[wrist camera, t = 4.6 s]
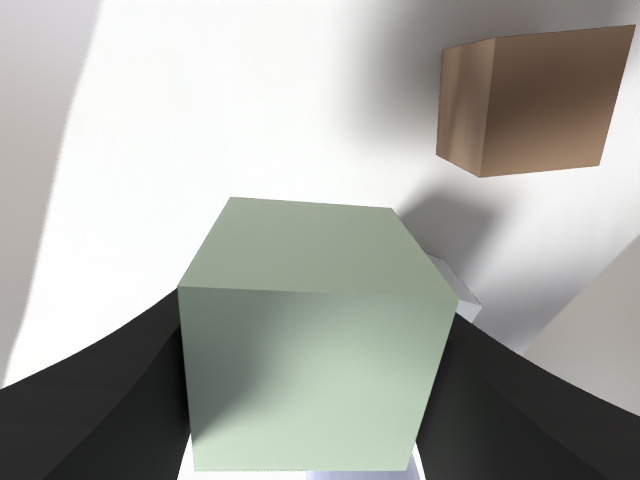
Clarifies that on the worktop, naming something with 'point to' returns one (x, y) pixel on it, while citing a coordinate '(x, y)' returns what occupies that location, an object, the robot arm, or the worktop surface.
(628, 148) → the worktop surface
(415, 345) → the sage cube
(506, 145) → the walnut cube
